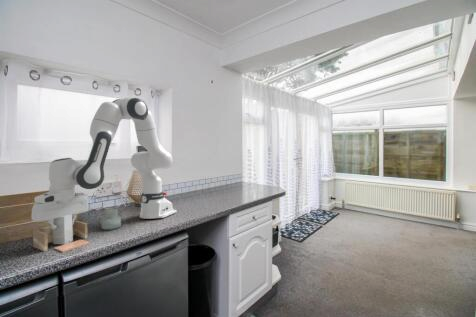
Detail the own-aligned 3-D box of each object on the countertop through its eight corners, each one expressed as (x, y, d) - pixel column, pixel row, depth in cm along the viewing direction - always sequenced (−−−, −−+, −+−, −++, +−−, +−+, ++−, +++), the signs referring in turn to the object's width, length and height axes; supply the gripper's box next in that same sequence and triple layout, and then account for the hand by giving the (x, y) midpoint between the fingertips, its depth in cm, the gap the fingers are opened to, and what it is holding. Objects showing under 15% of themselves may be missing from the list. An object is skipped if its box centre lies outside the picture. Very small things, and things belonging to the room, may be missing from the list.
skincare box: (73, 241, 100) (72, 214, 100) (64, 244, 96) (63, 217, 95) (61, 240, 101) (60, 213, 101) (52, 244, 97) (51, 216, 96)
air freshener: (103, 226, 121) (103, 208, 121) (121, 224, 124) (121, 206, 124) (100, 233, 111) (100, 212, 111) (119, 230, 114) (119, 211, 114)
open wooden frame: (75, 234, 108) (75, 220, 108) (87, 238, 103) (87, 223, 103) (33, 246, 94) (33, 230, 94) (44, 251, 89) (44, 234, 89)
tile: (80, 240, 100) (80, 239, 100) (89, 243, 97) (89, 242, 97) (54, 249, 92) (54, 247, 92) (63, 252, 88) (63, 250, 88)
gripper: (84, 191, 109) (84, 219, 109) (29, 198, 91) (29, 232, 91) (91, 192, 106) (91, 221, 106) (36, 199, 88) (36, 235, 88)
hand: (62, 226), depth 98 cm, fingers closed on skincare box, 5 cm apart
